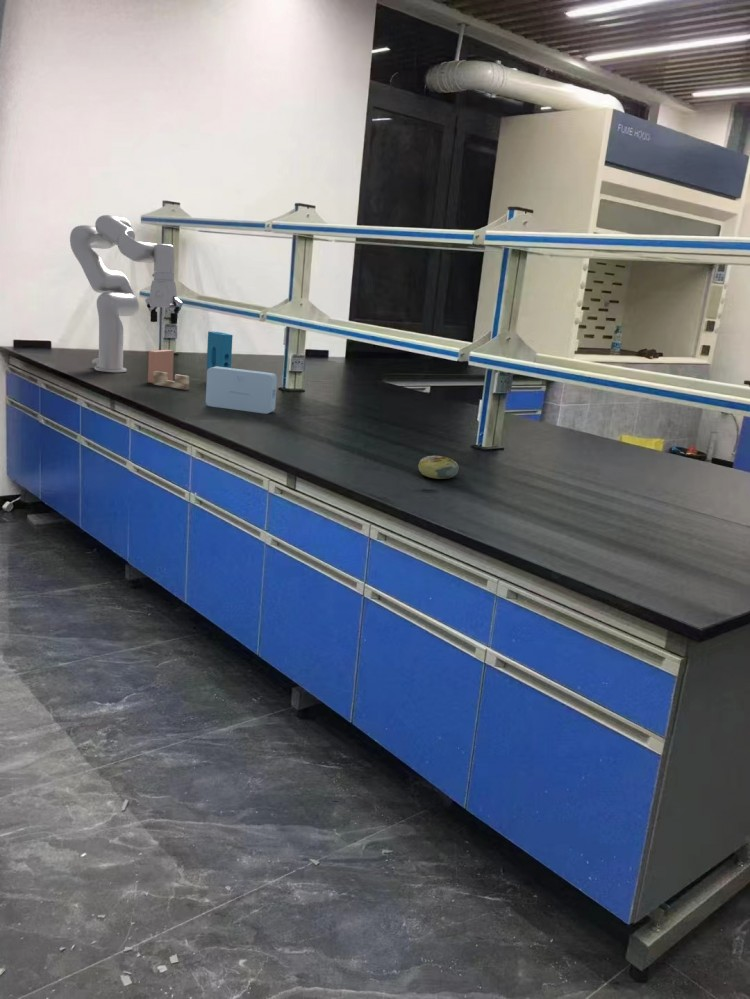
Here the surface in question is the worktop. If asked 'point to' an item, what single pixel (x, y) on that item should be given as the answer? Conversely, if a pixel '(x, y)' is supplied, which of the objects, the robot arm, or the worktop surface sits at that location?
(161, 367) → the terracotta plate
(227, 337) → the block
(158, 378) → the slot plate base
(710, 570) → the worktop surface
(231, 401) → the pale blue box
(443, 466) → the cell model
